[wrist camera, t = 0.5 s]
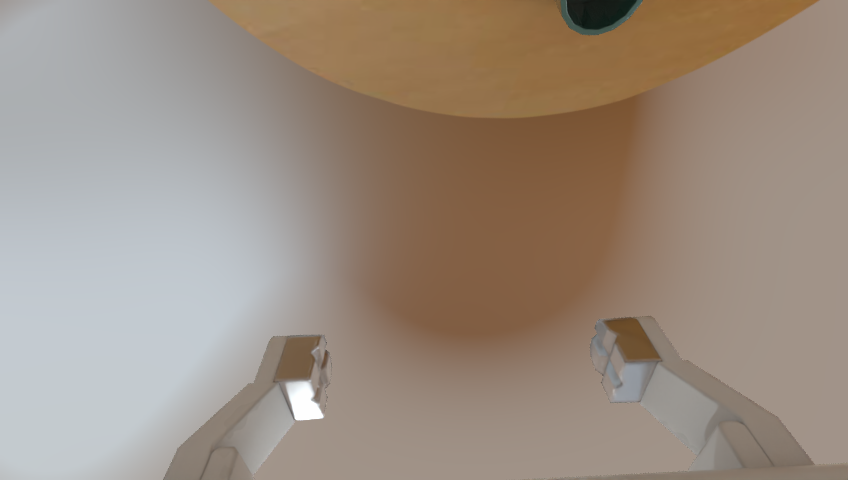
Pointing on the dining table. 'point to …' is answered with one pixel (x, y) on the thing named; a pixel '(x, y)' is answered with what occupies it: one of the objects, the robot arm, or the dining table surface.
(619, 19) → the teal faceted mug
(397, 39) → the dining table surface
